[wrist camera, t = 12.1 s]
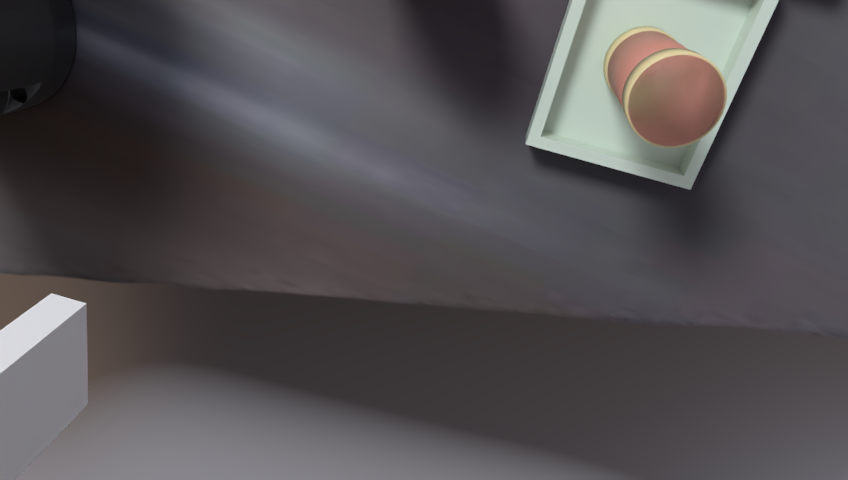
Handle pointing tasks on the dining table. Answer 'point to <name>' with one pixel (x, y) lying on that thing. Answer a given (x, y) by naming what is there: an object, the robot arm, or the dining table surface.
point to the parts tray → (601, 110)
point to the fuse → (664, 87)
